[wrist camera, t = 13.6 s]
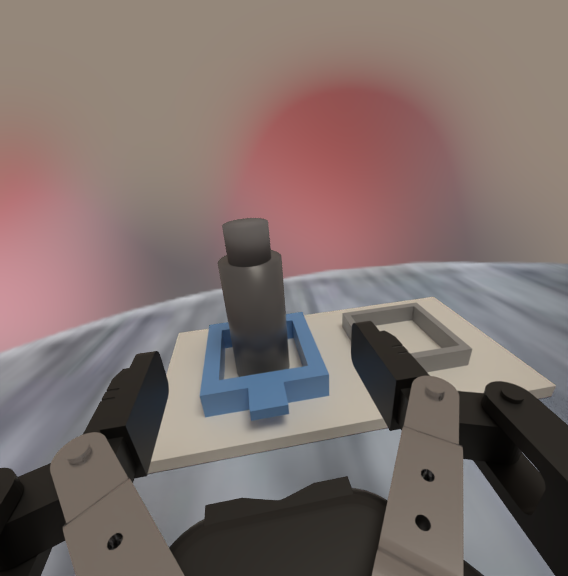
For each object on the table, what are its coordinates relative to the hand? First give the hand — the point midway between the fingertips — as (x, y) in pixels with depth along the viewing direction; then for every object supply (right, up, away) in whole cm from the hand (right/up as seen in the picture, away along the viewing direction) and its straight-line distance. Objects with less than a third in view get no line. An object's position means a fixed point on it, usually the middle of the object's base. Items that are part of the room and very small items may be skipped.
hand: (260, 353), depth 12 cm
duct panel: (+5, -4, +13) cm, 15 cm away
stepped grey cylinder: (-1, -4, +12) cm, 13 cm away
